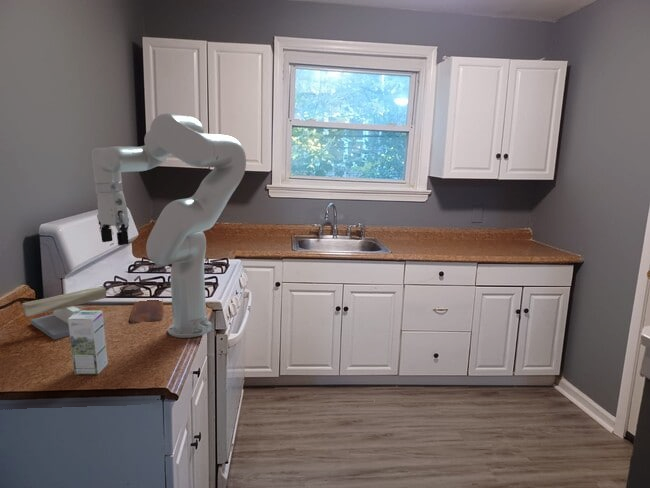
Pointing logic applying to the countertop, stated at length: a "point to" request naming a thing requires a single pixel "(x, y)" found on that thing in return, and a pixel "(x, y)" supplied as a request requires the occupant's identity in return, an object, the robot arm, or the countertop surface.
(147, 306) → the wooden tablet
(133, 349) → the countertop surface
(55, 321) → the stand
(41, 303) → the birch beam
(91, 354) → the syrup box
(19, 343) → the countertop surface
